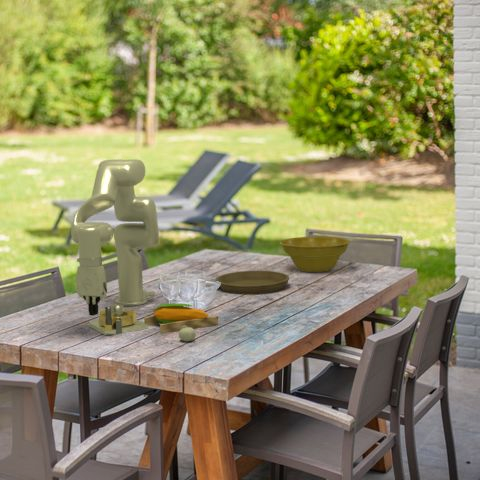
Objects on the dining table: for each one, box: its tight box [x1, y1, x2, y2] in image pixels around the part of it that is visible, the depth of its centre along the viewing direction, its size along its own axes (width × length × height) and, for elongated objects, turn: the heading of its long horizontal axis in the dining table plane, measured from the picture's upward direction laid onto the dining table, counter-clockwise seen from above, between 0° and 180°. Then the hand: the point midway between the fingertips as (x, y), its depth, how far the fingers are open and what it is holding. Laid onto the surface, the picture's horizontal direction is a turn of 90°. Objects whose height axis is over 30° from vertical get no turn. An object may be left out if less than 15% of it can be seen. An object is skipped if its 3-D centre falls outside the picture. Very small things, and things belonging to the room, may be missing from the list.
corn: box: [153, 302, 209, 324], centre depth 341 cm, size 7×8×20 cm
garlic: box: [178, 325, 197, 342], centre depth 319 cm, size 6×5×5 cm
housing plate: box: [87, 303, 149, 336], centre depth 339 cm, size 16×17×8 cm
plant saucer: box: [214, 270, 290, 295], centre depth 404 cm, size 31×31×5 cm
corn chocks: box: [143, 308, 219, 335], centre depth 341 cm, size 22×14×3 cm, turn 119°
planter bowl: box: [278, 236, 351, 273], centre depth 439 cm, size 32×32×13 cm
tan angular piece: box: [98, 306, 137, 331], centre depth 337 cm, size 18×12×8 cm
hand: (93, 314), depth 331 cm, fingers closed
